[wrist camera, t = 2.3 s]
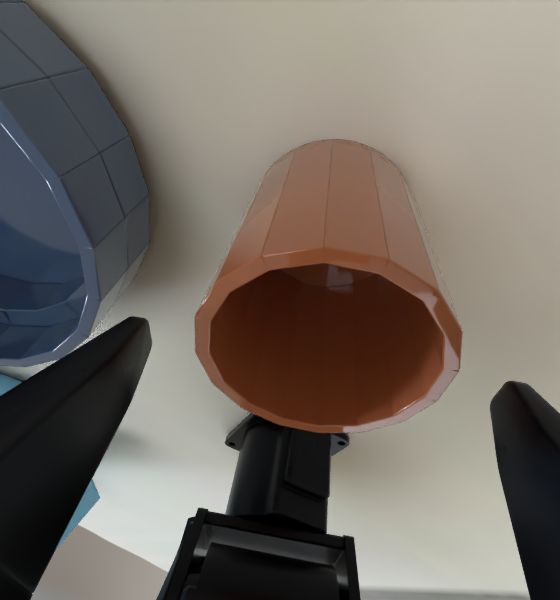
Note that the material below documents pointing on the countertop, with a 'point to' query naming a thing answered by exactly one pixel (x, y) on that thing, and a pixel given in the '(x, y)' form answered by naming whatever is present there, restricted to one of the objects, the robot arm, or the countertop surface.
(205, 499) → the countertop surface
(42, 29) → the bowl
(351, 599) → the robot arm
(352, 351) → the cup
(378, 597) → the countertop surface
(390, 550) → the countertop surface
